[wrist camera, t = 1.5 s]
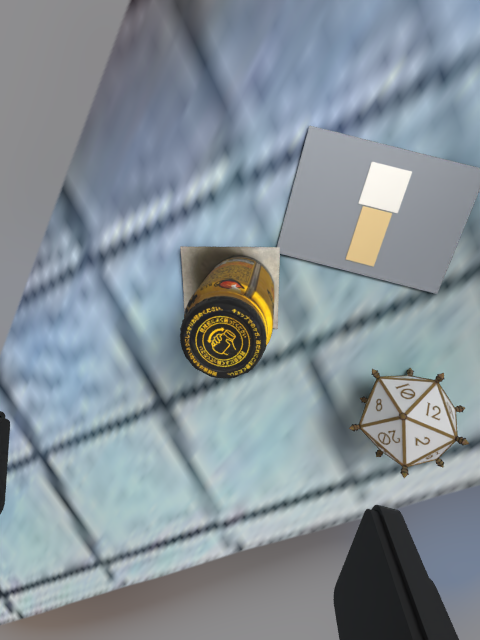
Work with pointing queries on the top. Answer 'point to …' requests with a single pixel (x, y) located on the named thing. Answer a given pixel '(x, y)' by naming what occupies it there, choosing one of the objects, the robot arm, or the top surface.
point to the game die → (410, 419)
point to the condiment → (228, 307)
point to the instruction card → (377, 209)
